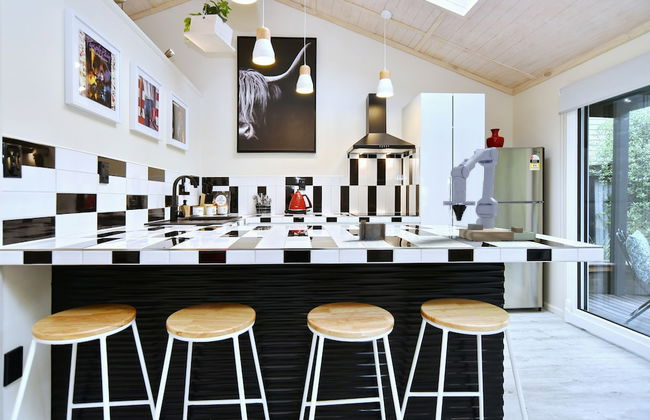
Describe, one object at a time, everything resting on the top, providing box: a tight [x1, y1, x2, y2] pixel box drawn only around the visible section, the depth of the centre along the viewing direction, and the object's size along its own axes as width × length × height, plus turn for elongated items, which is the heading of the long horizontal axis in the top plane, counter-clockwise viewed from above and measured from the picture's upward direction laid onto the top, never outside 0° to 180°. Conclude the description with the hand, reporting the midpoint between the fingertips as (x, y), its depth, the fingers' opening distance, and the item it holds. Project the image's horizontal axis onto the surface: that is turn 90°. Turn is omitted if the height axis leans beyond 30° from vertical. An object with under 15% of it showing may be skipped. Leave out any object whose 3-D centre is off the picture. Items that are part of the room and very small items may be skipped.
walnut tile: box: [510, 226, 524, 233], centre depth 155 cm, size 5×5×2 cm
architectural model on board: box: [358, 219, 386, 241], centre depth 153 cm, size 11×3×10 cm, turn 98°
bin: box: [505, 229, 537, 242], centre depth 159 cm, size 15×10×4 cm, turn 2°
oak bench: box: [458, 228, 514, 242], centre depth 159 cm, size 15×18×4 cm
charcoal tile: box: [467, 223, 483, 230], centre depth 162 cm, size 5×5×2 cm
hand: (458, 220), depth 161 cm, fingers closed
